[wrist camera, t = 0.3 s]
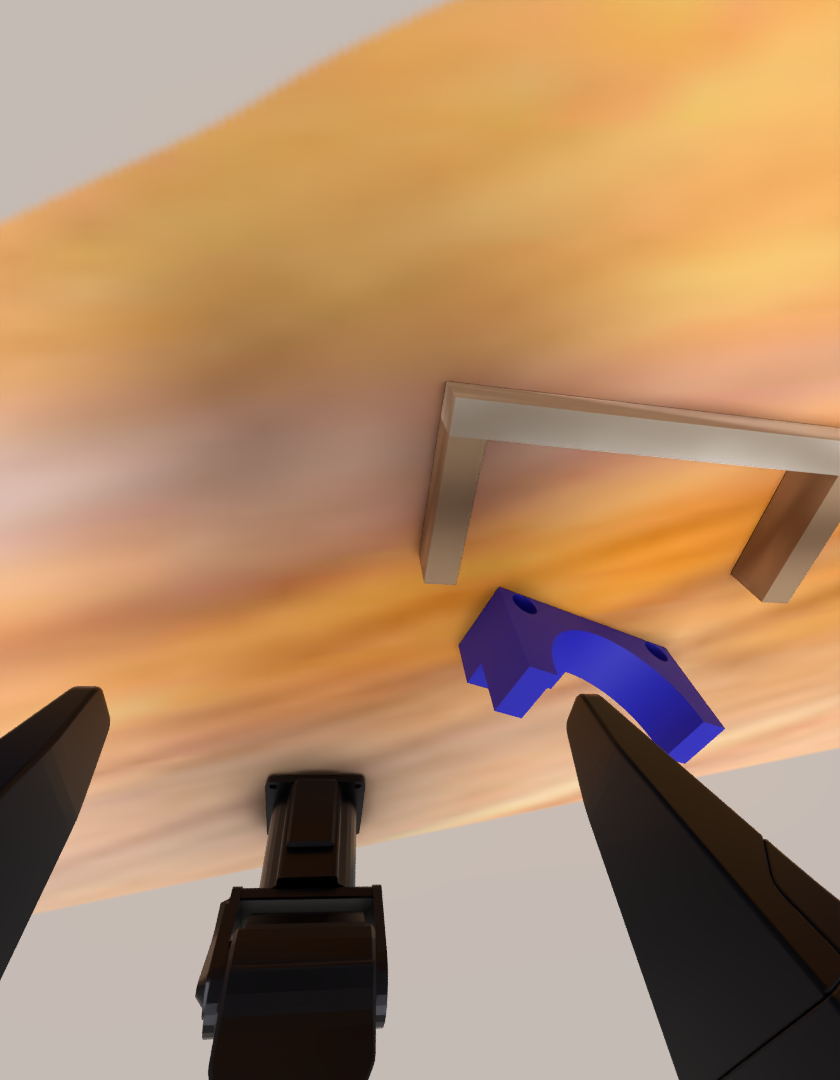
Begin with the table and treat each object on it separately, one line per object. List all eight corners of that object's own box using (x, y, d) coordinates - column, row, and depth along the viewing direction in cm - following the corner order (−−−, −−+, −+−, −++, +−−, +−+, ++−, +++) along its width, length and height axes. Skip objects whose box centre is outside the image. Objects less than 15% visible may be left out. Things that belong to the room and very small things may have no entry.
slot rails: (754, 575, 27) (787, 603, 25) (419, 553, 25) (424, 583, 22) (840, 427, 23) (888, 446, 21) (446, 381, 20) (455, 396, 18)
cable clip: (458, 642, 28) (478, 730, 23) (498, 584, 26) (529, 666, 21) (618, 693, 32) (666, 780, 27) (663, 645, 30) (724, 728, 25)
